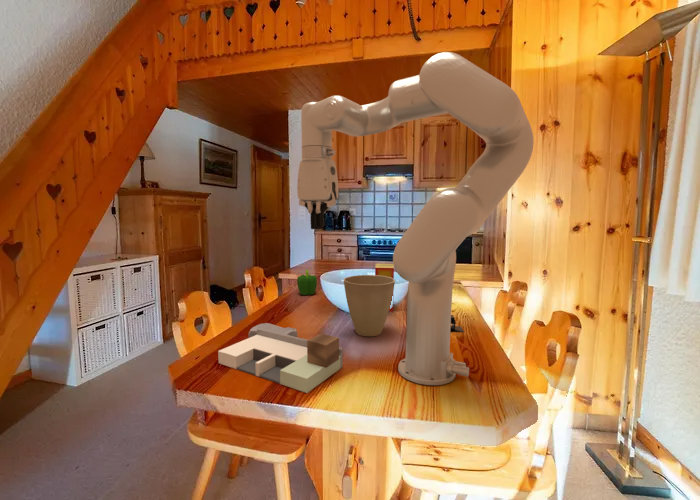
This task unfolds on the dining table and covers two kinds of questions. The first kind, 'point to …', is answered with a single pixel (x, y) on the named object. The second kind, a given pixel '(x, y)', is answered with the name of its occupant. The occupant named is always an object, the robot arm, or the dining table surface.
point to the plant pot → (369, 302)
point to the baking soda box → (385, 272)
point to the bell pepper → (307, 284)
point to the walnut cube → (323, 350)
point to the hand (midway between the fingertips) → (317, 228)
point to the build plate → (455, 328)
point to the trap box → (278, 360)
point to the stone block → (273, 329)
